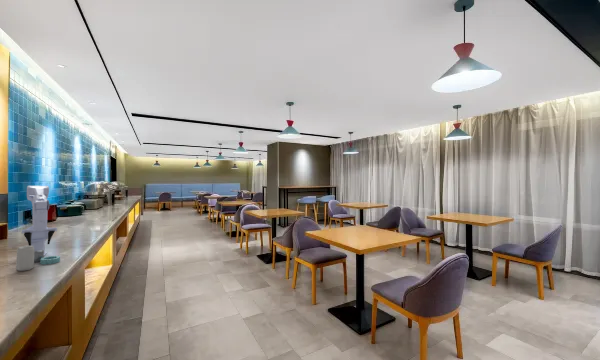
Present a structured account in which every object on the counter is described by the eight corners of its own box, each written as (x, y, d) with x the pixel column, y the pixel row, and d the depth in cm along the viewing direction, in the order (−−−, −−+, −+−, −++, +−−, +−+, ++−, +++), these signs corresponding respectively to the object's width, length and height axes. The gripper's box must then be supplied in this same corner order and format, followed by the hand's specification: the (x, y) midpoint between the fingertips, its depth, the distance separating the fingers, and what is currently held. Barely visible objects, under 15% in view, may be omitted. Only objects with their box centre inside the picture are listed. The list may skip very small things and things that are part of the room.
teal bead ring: (41, 261, 152) (42, 257, 152) (60, 259, 156) (60, 255, 156) (39, 265, 145) (39, 260, 145) (58, 262, 150) (59, 258, 150)
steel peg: (34, 260, 152) (34, 250, 152) (44, 259, 154) (44, 249, 154) (33, 262, 149) (33, 252, 149) (42, 261, 151) (43, 251, 151)
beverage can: (22, 272, 135) (23, 248, 135) (12, 270, 136) (13, 247, 136) (36, 268, 141) (37, 245, 141) (27, 266, 142) (28, 244, 142)
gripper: (20, 223, 144) (19, 247, 144) (56, 221, 153) (55, 244, 153) (23, 221, 150) (22, 245, 150) (58, 219, 158) (57, 242, 158)
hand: (39, 244), depth 152 cm, fingers open, 7 cm apart
